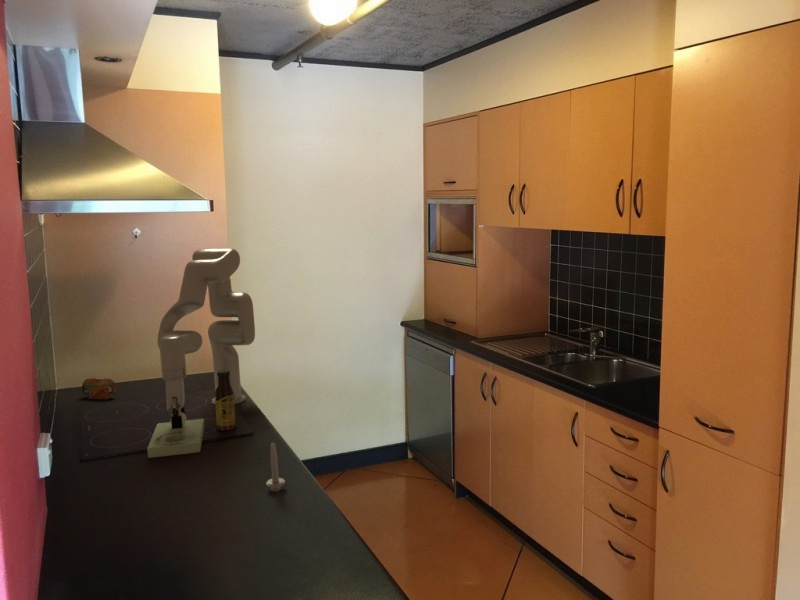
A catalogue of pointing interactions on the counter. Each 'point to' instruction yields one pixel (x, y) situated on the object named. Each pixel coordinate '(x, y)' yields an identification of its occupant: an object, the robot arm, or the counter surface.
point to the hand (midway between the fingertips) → (178, 423)
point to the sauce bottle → (224, 402)
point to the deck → (176, 439)
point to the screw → (274, 471)
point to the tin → (99, 388)
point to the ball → (182, 418)
